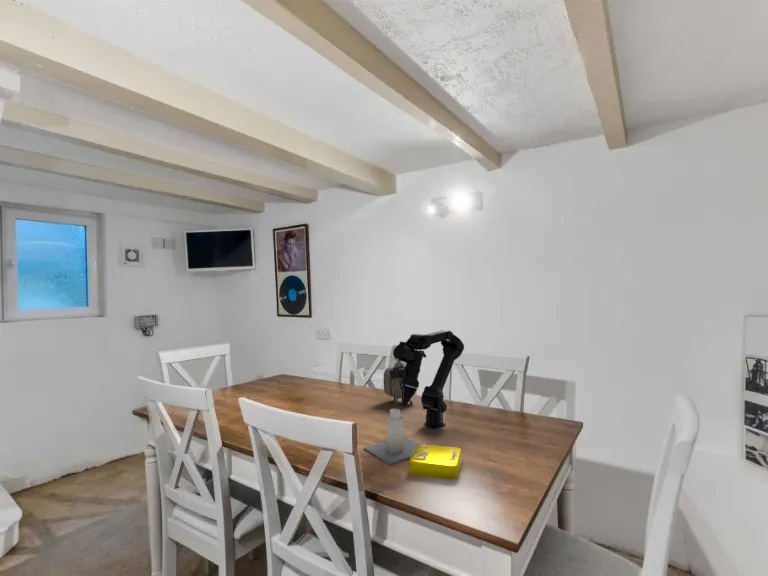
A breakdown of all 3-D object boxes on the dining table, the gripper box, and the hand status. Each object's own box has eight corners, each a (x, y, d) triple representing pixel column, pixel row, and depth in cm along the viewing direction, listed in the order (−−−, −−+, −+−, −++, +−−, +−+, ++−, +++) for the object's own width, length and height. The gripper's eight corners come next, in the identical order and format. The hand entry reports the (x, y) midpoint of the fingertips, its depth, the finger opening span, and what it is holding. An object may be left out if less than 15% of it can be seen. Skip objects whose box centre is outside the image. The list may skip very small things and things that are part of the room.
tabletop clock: (416, 404, 198) (415, 353, 198) (404, 408, 191) (403, 355, 191) (394, 399, 207) (393, 350, 208) (382, 402, 201) (381, 352, 201)
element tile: (457, 481, 119) (457, 465, 119) (407, 475, 123) (407, 459, 123) (462, 460, 133) (462, 446, 133) (417, 455, 138) (417, 441, 138)
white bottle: (403, 447, 142) (403, 407, 142) (402, 454, 137) (403, 412, 137) (387, 447, 143) (387, 407, 143) (386, 453, 137) (386, 412, 137)
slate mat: (404, 437, 153) (404, 436, 153) (432, 451, 140) (432, 449, 140) (363, 448, 143) (363, 447, 143) (390, 464, 130) (390, 463, 130)
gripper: (392, 362, 167) (382, 400, 162) (394, 357, 149) (383, 399, 144) (418, 369, 166) (409, 408, 162) (423, 365, 148) (413, 408, 144)
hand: (403, 406), depth 153 cm, fingers open, 9 cm apart
